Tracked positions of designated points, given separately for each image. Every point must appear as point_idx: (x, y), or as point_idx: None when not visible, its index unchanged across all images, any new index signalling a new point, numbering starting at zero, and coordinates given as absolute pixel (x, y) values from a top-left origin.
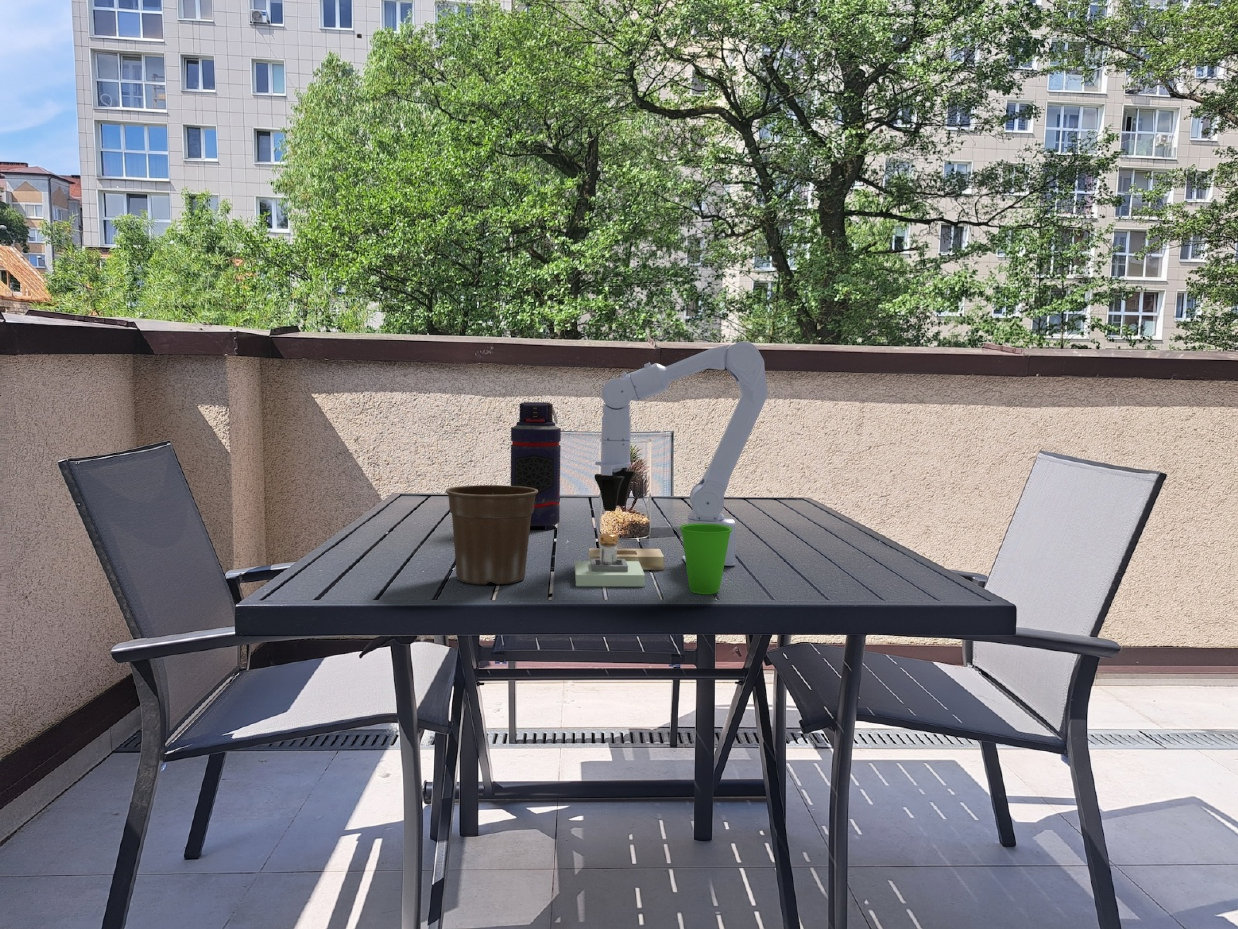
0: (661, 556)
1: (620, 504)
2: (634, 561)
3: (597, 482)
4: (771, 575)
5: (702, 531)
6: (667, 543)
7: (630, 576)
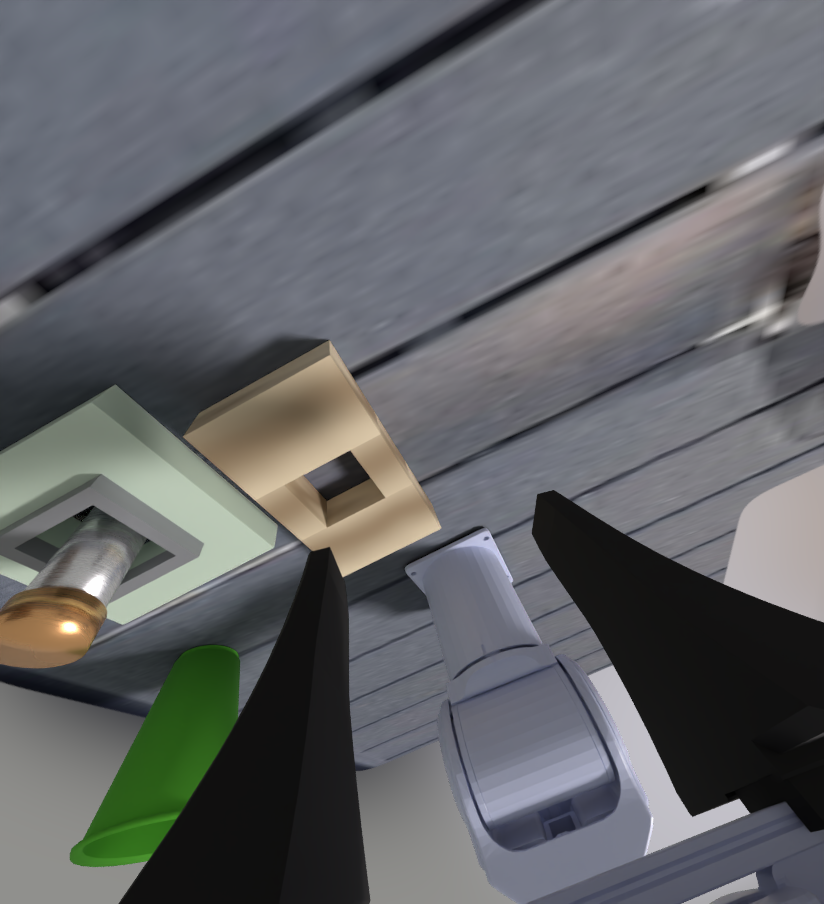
0: (341, 572)
1: (539, 526)
2: (263, 541)
3: (168, 839)
4: (400, 655)
5: None
6: (673, 423)
7: None
